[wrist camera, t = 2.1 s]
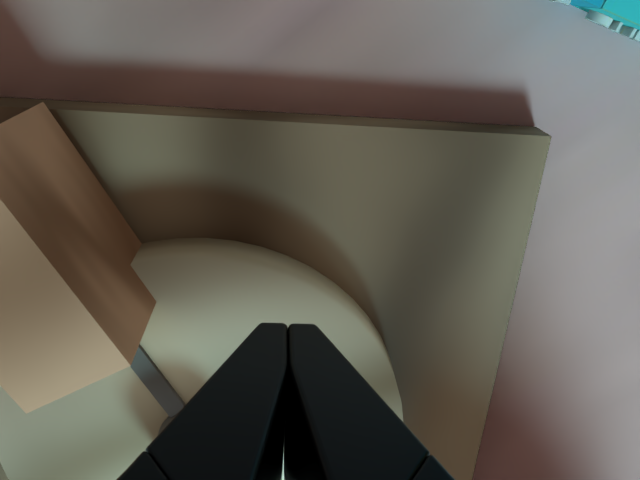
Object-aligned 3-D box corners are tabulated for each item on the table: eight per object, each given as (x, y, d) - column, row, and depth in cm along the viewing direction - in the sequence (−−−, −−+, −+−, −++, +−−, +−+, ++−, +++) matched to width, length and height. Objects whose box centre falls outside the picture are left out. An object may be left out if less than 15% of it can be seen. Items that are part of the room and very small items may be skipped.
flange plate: (450, 465, 22) (487, 577, 18) (150, 584, 23) (122, 709, 19) (206, 12, 15) (176, 25, 11) (-190, 229, 17) (-341, 309, 13)
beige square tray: (535, 126, 18) (642, 191, 13) (439, 566, 26) (479, 721, 21) (-144, 88, 17) (-355, 143, 11) (-23, 567, 25) (-111, 734, 19)
